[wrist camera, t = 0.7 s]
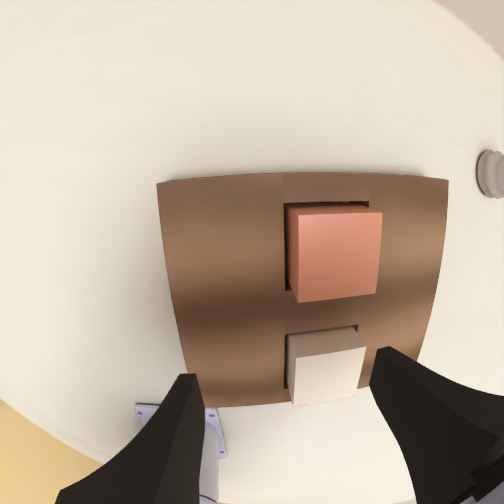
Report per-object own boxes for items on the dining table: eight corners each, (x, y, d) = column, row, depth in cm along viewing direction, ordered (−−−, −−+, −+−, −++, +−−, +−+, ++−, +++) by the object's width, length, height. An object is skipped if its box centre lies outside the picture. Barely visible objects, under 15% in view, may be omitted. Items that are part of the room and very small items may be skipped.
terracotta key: (351, 270, 17) (375, 293, 14) (285, 276, 17) (298, 302, 14) (354, 202, 16) (382, 212, 13) (284, 204, 16) (298, 215, 12)
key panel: (397, 354, 22) (412, 373, 19) (199, 382, 21) (197, 407, 18) (423, 176, 17) (448, 180, 14) (168, 180, 16) (156, 183, 14)
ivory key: (339, 365, 20) (354, 395, 16) (284, 373, 19) (293, 406, 16) (346, 318, 18) (366, 346, 15) (285, 326, 18) (296, 358, 15)
